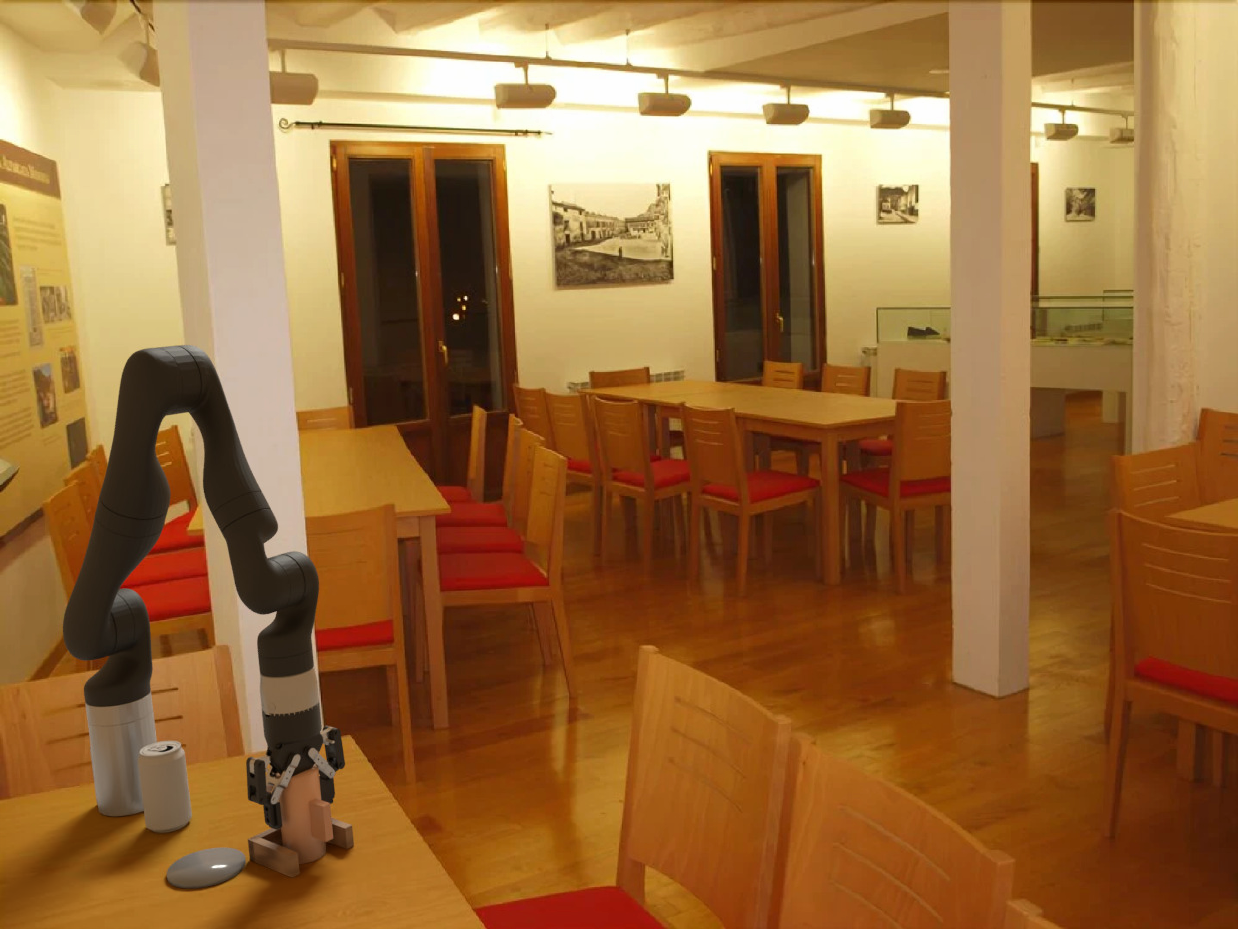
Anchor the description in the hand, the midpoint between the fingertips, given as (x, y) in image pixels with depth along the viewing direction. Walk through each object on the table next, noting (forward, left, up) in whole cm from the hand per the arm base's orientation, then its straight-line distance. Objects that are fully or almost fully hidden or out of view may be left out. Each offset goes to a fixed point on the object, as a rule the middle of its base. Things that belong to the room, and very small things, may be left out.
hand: (301, 815), depth 158 cm
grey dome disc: (-8, -10, -6) cm, 14 cm away
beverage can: (-25, -5, -6) cm, 26 cm away
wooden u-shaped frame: (0, 0, -6) cm, 6 cm away
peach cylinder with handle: (+1, 0, -6) cm, 6 cm away
